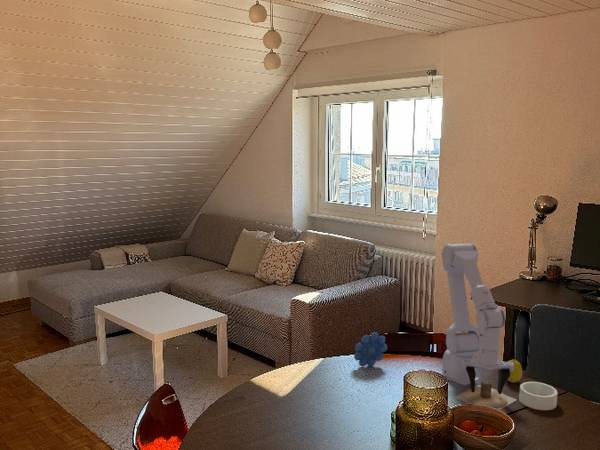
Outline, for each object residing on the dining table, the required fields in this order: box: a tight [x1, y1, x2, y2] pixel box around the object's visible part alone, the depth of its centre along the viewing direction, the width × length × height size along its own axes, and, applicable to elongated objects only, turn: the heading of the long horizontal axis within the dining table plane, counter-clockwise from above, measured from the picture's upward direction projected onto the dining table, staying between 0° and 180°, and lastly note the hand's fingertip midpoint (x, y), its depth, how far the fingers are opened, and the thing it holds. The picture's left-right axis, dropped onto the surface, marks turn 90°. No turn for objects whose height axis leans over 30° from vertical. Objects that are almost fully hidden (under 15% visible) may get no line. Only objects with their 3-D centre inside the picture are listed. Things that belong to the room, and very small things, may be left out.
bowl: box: [518, 381, 558, 411], centre depth 167 cm, size 10×10×4 cm
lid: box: [464, 380, 507, 408], centre depth 169 cm, size 12×12×5 cm
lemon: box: [507, 359, 523, 384], centre depth 181 cm, size 6×6×8 cm
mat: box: [454, 384, 518, 411], centre depth 170 cm, size 13×13×1 cm
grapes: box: [353, 331, 388, 367], centre depth 194 cm, size 12×7×12 cm, turn 101°
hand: (486, 391), depth 169 cm, fingers open, 7 cm apart
